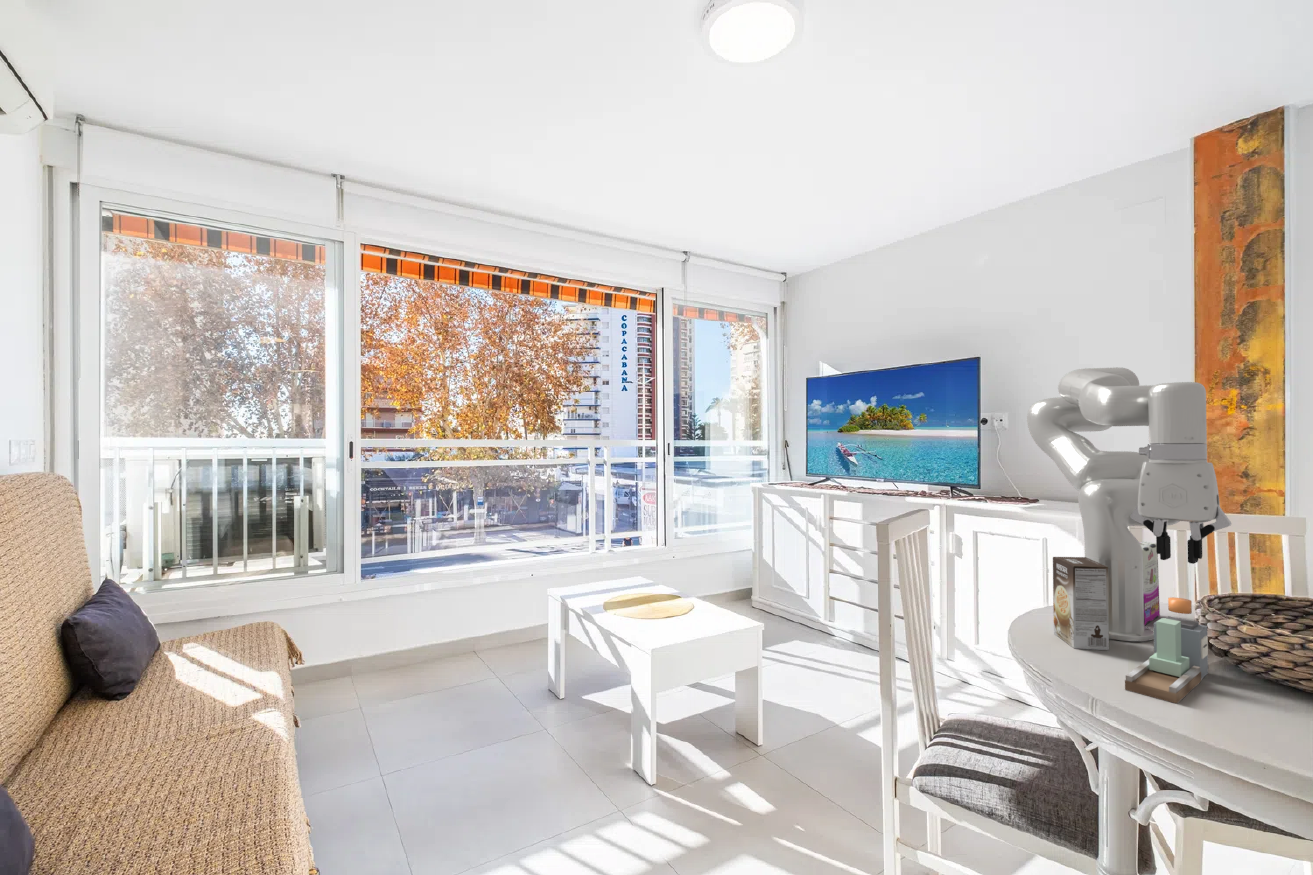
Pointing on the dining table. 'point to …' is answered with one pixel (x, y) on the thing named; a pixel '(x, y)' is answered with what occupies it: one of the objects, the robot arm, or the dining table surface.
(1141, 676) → the rail track
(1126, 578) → the robot arm
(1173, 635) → the carriage
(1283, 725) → the dining table surface
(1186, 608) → the button
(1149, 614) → the candy bar box
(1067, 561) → the coffee box
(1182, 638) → the grey upright housing
